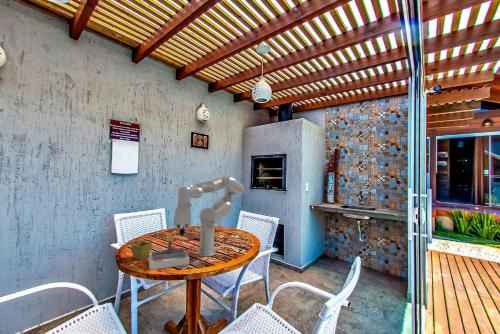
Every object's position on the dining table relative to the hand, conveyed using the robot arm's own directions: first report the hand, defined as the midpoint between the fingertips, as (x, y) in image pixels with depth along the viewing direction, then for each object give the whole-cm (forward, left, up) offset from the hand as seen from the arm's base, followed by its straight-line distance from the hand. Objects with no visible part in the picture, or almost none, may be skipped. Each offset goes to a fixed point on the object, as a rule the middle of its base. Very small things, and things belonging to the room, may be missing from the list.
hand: (181, 235), depth 139 cm
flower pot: (+22, -15, -16) cm, 31 cm away
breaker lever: (+7, 0, -12) cm, 14 cm away
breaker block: (+7, 0, -16) cm, 18 cm away
